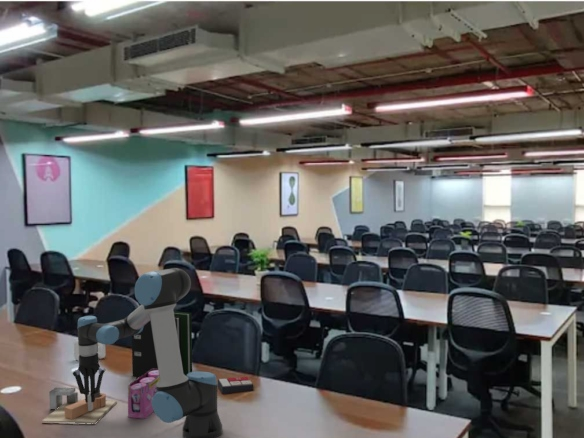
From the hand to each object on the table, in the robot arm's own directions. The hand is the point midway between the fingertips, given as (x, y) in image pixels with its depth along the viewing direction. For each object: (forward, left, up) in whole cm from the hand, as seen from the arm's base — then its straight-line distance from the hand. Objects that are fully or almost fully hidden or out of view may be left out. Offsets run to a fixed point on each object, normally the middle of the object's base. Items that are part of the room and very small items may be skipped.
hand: (90, 409), depth 217 cm
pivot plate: (+3, +5, -3) cm, 7 cm away
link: (+2, +3, -1) cm, 4 cm away
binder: (+51, -15, -3) cm, 53 cm away
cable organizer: (+76, +35, -3) cm, 84 cm away
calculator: (+34, -55, -3) cm, 65 cm away
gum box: (+10, -21, -3) cm, 24 cm away
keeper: (+9, +16, -3) cm, 18 cm away
